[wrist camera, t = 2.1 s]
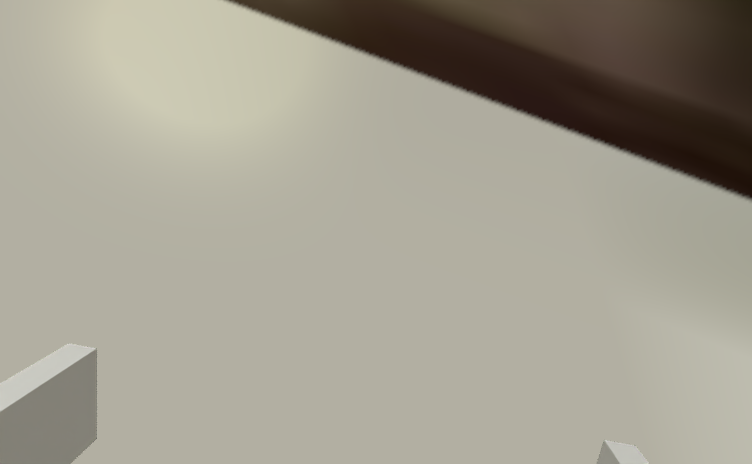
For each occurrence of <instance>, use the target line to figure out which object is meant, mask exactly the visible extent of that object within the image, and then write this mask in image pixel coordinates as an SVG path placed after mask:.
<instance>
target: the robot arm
mask: <svg viewBox="0 0 752 464" xmlns="http://www.w3.org/2000/svg"><path fill="white" fill-rule="evenodd" d="M96 439H97V349H96V348H91V347H85V346H80V345H74V344H67V345H65V346H63V347H62V348H60V349H58V350H57V351H55V352H53V353H51V354H50V355H48V356H46V357H45V358H43V359H41V360H40V361H38V362H36V363H34V364H33V365H31V366H29V367H28V368H26V369H24V370H22V371H21V372H19V373H17V374H16V375H14V376H12V377H11V378H9V379H7V380H5V381H4V382H2V383H0V464H71V463H72V462H73V461H74V460H75V459H76V457H78V456H79V455H80V454H81V453H82V452H83V451H84V450H85V449H86V448H87V447H88V446H89V445H91V444H92V443H93V442H94V441H95V440H96ZM597 464H649V463H648V461H647V460H646V459H645V457H644V456H643V455H642V454H641V452H640V451H639V450H638V448H637V447H636V446H635V445H630V444H624V443H619V442H613V441H608V440H604V442H603V445H602V448H601V452H600V454H599V458H598V461H597Z"/></svg>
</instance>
